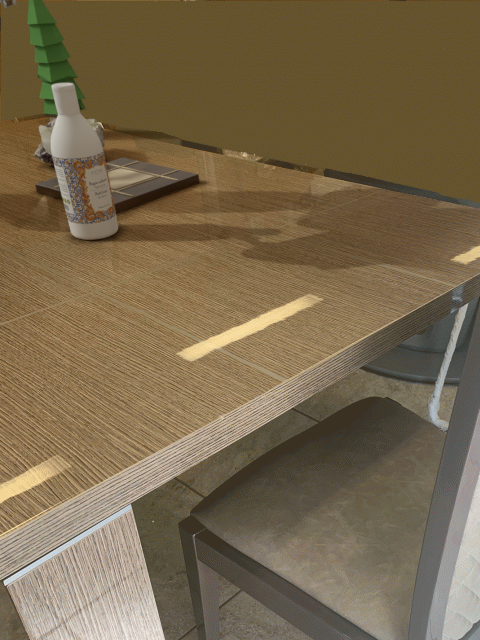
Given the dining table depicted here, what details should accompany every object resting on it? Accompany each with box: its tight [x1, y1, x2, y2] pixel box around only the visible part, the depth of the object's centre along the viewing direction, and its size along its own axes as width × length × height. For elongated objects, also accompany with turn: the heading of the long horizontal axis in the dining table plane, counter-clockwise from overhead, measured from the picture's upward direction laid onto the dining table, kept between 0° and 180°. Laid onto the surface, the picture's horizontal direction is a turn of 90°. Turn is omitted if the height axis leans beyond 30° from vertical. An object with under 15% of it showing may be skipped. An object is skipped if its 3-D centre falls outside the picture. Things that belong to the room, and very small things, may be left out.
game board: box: [34, 157, 200, 214], centre depth 114 cm, size 20×20×2 cm
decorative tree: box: [26, 0, 87, 116], centre depth 136 cm, size 10×9×30 cm
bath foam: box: [51, 83, 119, 241], centre depth 91 cm, size 7×7×20 cm
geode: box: [33, 117, 105, 165], centre depth 125 cm, size 17×9×15 cm
